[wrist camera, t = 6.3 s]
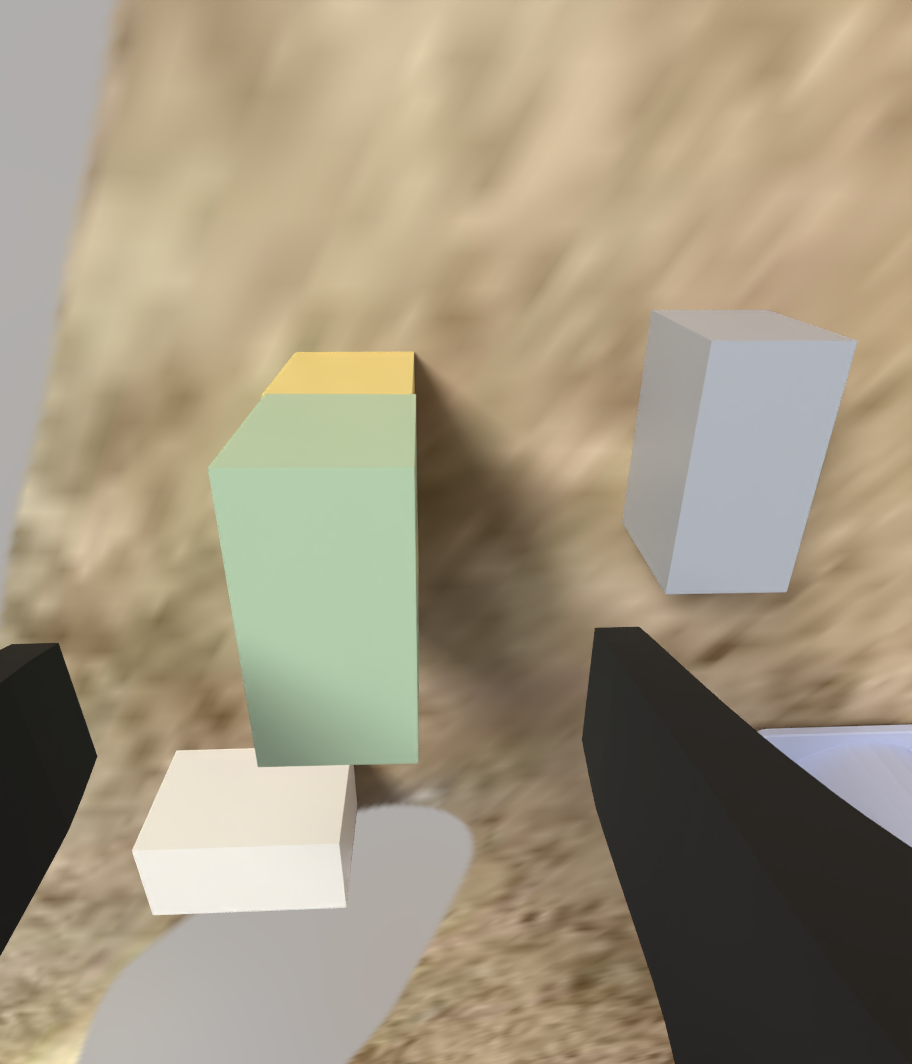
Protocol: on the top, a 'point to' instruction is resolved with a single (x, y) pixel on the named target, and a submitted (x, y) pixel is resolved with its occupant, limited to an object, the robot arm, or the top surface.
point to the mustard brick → (346, 375)
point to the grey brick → (730, 445)
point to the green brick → (324, 575)
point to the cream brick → (247, 835)
